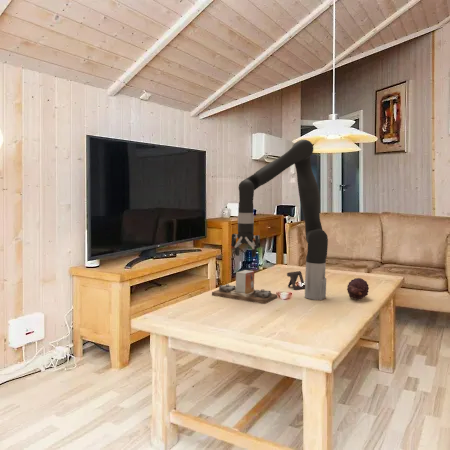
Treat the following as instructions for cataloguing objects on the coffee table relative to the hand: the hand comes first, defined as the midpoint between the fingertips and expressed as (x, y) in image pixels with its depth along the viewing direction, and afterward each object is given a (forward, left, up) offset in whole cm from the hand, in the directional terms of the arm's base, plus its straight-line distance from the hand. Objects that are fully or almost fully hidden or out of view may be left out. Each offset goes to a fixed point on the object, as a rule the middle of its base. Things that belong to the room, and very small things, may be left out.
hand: (245, 256), depth 203 cm
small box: (0, 0, -18) cm, 18 cm away
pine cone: (-47, -27, -20) cm, 58 cm away
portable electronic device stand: (-14, -32, -20) cm, 40 cm away
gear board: (0, 0, -19) cm, 19 cm away
